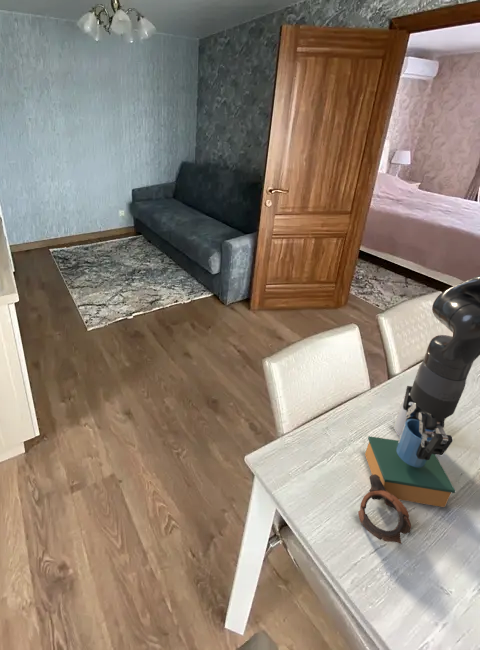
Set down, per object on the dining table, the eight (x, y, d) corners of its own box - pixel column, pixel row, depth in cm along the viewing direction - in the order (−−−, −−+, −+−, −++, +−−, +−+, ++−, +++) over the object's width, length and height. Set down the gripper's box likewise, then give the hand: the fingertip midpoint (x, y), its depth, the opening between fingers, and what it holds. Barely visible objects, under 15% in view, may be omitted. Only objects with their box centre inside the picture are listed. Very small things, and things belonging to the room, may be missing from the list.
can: (423, 453, 86) (437, 418, 81) (389, 435, 90) (401, 401, 86) (428, 434, 91) (442, 399, 86) (396, 417, 95) (408, 384, 91)
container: (422, 462, 84) (430, 445, 81) (447, 509, 74) (455, 490, 72) (363, 453, 86) (368, 436, 83) (379, 497, 76) (385, 479, 74)
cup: (418, 446, 79) (428, 420, 76) (430, 469, 74) (442, 443, 71) (392, 442, 80) (400, 416, 77) (402, 465, 75) (412, 439, 72)
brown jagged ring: (423, 548, 68) (419, 538, 63) (372, 553, 70) (366, 543, 66) (393, 478, 77) (388, 465, 73) (349, 485, 80) (342, 472, 76)
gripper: (481, 417, 62) (452, 480, 68) (439, 363, 75) (418, 419, 82) (435, 411, 63) (411, 473, 70) (402, 358, 76) (384, 415, 83)
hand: (415, 444), depth 75 cm, fingers closed on cup, 5 cm apart
